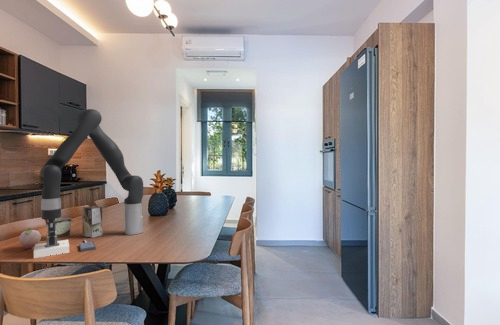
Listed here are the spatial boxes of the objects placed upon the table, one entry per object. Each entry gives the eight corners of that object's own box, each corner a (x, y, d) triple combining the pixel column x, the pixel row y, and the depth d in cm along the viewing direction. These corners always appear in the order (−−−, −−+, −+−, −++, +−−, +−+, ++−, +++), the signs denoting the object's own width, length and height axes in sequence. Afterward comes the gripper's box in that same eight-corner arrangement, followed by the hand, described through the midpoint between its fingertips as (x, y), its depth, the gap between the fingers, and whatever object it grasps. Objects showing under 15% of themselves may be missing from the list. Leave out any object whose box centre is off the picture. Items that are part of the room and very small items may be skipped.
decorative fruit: (42, 248, 136) (42, 228, 136) (20, 252, 131) (20, 231, 130) (39, 244, 143) (39, 224, 143) (18, 248, 137) (18, 227, 137)
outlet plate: (68, 245, 141) (68, 239, 141) (69, 252, 130) (69, 245, 130) (35, 250, 134) (35, 244, 133) (33, 258, 123) (33, 251, 123)
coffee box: (103, 235, 160) (102, 206, 160) (92, 238, 154) (91, 208, 154) (92, 233, 164) (92, 205, 164) (81, 236, 159) (81, 207, 158)
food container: (67, 234, 163) (66, 216, 163) (72, 235, 160) (72, 217, 159) (42, 239, 152) (42, 221, 152) (48, 241, 149) (47, 222, 149)
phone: (91, 239, 150) (91, 237, 150) (95, 249, 134) (95, 246, 134) (78, 241, 147) (78, 239, 147) (81, 251, 131) (81, 249, 131)
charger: (57, 249, 135) (56, 234, 135) (57, 251, 131) (57, 236, 131) (46, 251, 132) (46, 236, 132) (46, 253, 129) (46, 238, 129)
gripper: (61, 209, 128) (62, 245, 128) (60, 205, 140) (61, 238, 140) (40, 211, 124) (41, 248, 124) (41, 206, 135) (42, 240, 136)
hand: (52, 242), depth 132 cm, fingers open, 8 cm apart
